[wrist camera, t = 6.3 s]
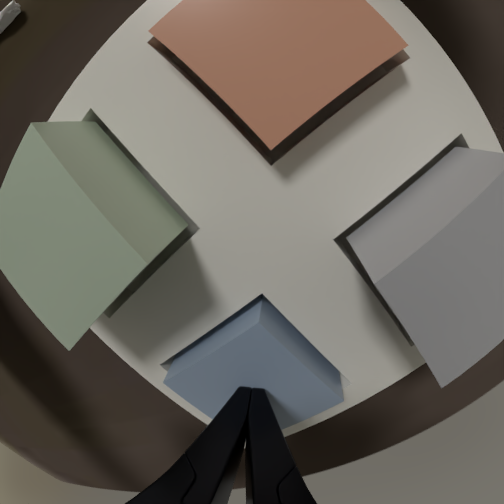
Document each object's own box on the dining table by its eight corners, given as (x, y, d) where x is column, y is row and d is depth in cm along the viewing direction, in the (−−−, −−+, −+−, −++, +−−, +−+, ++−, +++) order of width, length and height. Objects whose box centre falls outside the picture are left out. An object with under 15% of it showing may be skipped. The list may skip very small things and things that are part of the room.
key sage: (37, 217, 9) (-17, 242, 6) (95, 121, 7) (31, 122, 5) (111, 304, 9) (69, 350, 7) (188, 224, 8) (148, 264, 6)
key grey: (345, 237, 8) (373, 284, 5) (455, 146, 6) (516, 155, 4) (412, 332, 9) (441, 388, 6) (501, 255, 7) (549, 291, 5)
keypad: (45, 200, 11) (2, 218, 8) (283, -43, 7) (282, -85, 4) (254, 405, 14) (248, 449, 12) (497, 237, 10) (536, 262, 7)
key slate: (184, 336, 12) (162, 382, 9) (265, 276, 10) (258, 322, 8) (254, 394, 13) (248, 442, 10) (334, 350, 11) (344, 400, 9)
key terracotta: (183, 57, 8) (148, 31, 5) (281, -18, 6) (280, -63, 4) (274, 148, 9) (270, 150, 6) (375, 68, 7) (408, 45, 5)
